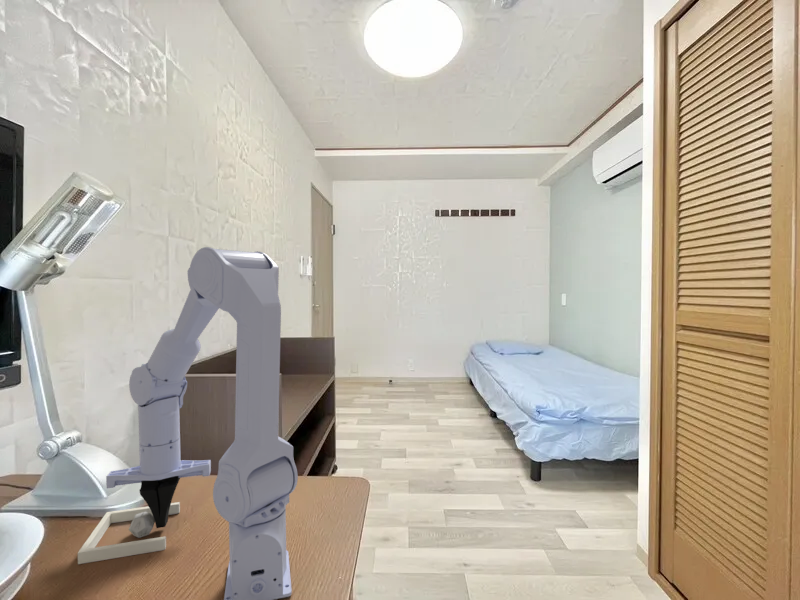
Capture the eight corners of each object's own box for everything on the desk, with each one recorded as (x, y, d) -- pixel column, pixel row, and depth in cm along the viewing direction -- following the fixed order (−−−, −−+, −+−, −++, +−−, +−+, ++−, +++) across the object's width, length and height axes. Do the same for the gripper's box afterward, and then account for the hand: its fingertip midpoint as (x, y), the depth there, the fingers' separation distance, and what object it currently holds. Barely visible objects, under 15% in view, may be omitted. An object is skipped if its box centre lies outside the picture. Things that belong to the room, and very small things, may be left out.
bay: (165, 549, 64) (164, 539, 64) (77, 564, 61) (77, 553, 61) (180, 511, 76) (179, 501, 76) (107, 521, 72) (106, 512, 72)
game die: (159, 526, 71) (158, 508, 71) (149, 539, 67) (148, 520, 67) (136, 528, 70) (135, 510, 70) (124, 541, 67) (124, 522, 67)
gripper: (212, 427, 75) (213, 505, 76) (116, 437, 71) (118, 519, 71) (207, 441, 68) (208, 526, 69) (100, 452, 64) (102, 543, 64)
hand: (162, 524), depth 70 cm, fingers closed
